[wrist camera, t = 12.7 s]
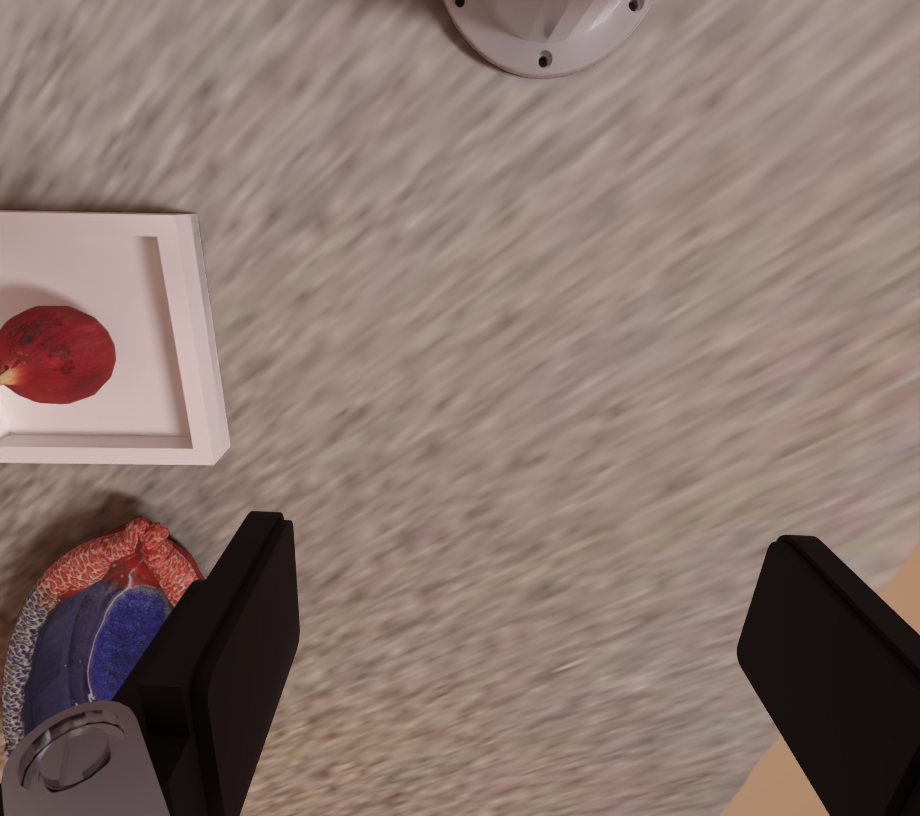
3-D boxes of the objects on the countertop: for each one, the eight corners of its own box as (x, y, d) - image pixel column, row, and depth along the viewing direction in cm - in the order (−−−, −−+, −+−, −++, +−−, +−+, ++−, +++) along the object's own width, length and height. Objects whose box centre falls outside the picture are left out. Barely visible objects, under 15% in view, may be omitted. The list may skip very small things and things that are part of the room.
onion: (59, 280, 35) (-49, 302, 27) (150, 319, 36) (69, 350, 28) (42, 360, 37) (-64, 402, 29) (128, 395, 38) (47, 444, 30)
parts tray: (-63, 208, 34) (-109, 210, 31) (197, 213, 34) (174, 215, 32) (8, 443, 40) (-26, 462, 37) (230, 446, 40) (213, 465, 37)
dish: (7, 732, 50) (-39, 786, 46) (86, 461, 41) (38, 496, 36) (173, 783, 53) (146, 840, 48) (284, 540, 43) (264, 582, 39)
